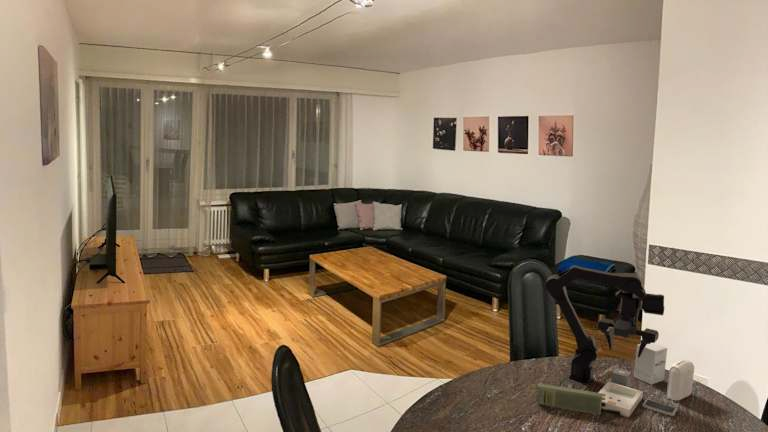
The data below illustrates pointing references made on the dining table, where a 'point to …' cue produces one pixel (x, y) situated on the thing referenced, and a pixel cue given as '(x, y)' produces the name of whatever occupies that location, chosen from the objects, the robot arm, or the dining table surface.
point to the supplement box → (651, 363)
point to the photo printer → (680, 380)
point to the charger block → (621, 377)
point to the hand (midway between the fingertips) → (624, 353)
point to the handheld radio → (572, 399)
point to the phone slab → (659, 407)
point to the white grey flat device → (620, 398)
